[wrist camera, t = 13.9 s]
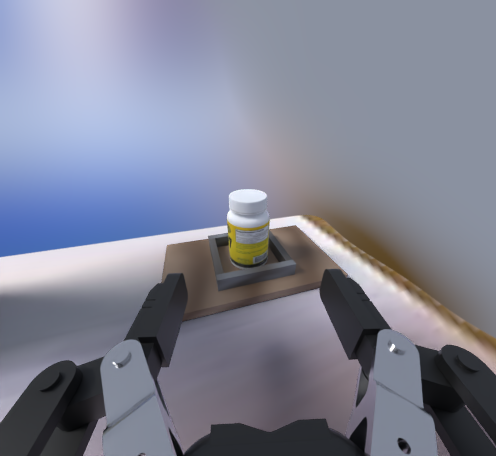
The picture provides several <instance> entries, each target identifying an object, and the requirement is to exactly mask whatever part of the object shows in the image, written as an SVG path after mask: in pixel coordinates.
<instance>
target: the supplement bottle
mask: <svg viewBox="0 0 496 456" xmlns="http://www.w3.org/2000/svg"><path fill="white" fill-rule="evenodd" d="M229 208H230V211H229V212H228V214H227V225H228V238H229V252H230V260H231V263H232V264H233V265H234V266H235V267H237V268H239V269H242V270H243V269H248V268H253V267H258V266H263V265H265V263H266V262H267V259H268V240H269V221H270V216H269V213H268V211H267V210H266V209H267V195H266V193H264V192H262V191H259V190H253V189H243V190H237V191H234V192H232V193H231V194H230V195H229Z"/></svg>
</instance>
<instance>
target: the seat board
mask: <svg viewBox="0 0 496 456" xmlns="http://www.w3.org/2000/svg"><path fill="white" fill-rule="evenodd" d="M208 238H209V239H204V240H197V241H191V242H184V243H178V244H171V245H167V249H166V255H165V262H164V269H163V276H162V282H161V283H164V281H165V278H166V276H167V275H168V274H169V273H183V275H184V278H185V283H186V287H187V291H188V301H187V305H186V309H185V312H184V316H183V319H182V322H183V321H187V320H191V319H195V318H199V317H203V316H207V315H211V314H215V313H219V312H223V311H227V310H231V309H235V308H239V307H243V306H247V305H251V304H255V303H259V302H263V301H267V300H271V299H275V298H279V297H283V296H287V295H292V294H296V293H300V292H304V291H308V290H312V289H316V288H320V285H321V281H322V277H323V273H324V270H325V269H340V270H341V271H342V272H343V274H344V275H345V276H346V278H347V275H348V274H347V273H346V272H345V271H344V270H342V269H341V268H340V267H339V266H338V265H337V264H336V263H335V262H334V261H333V260H332V259H331V258H330V257H329V256H328V255H327V254H325V253H324V252H323V251H322V250H321V249H320V248H319V247H318V246H317V245H316V244H315V243H314V242H313V241H312V240H311V239H310V238H308V237H307V236H306V235H305V234H304V233H303V232H302V231H301V230H300V229H299V228H298V227H297V226H296V225H295V226H289V227H282V228H276V229H269V240H268V259H267V262H266V263H265V265H263V266H258V267H253V268H248V269H243V270H242V269H239V268H237V267H235V266H234V265H233V264H232V263H231V260H230V252H229V238H228V233H225V234H218V235H212V236H208Z"/></svg>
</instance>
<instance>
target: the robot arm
mask: <svg viewBox="0 0 496 456" xmlns="http://www.w3.org/2000/svg"><path fill="white" fill-rule="evenodd" d="M320 297H321V300H322V302H323V304H324V306H325V308H326V311H327V313H328V315H329V317H330V319H331V322H332V324H333V326H334V328H335V330H336V333H337V335H338V337H339V339H340V341H341V343H342V346H343V348H344V350H345V352H346V354H347V357H348V359H349V360H351V359H358V361H359V363H360V365H361V366H360V368H359V373H358V379H357V385H356V391H355V397H354V403H353V408H352V412H351V416H350V418H349V421H348V425H347V429H346V434H345V436H344V435H342V434H341V433H339V432H337V431H335V430H333V429H331V428H328V425H327V421H326V419H309V420H297V421H295V422H293V423H291V424H288V425H286V426H284V427H282V428H280V429H277V430H275V431H273V432H266V431H263V430H259V429H256V428H253V427H250V426H247V425H244V424H241V423H235V424H217V425H211V433H210V434H208V435H206V436H204V437H202V438H201V439H199V440H198V441H197V442H195V443H194V444H193V445H192V446H191V447H190V448H189V449H188V450H187V451H186V452H185V453H184V451H183V448H182V445H181V442H180V439H179V436H178V434H177V431H176V429H175V426H174V424H173V421H172V419H171V416H170V413H169V410H168V407H167V404H166V401H165V398H164V395H163V393H162V390H161V387H160V384H159V381H158V378H157V377H158V374H159V371H160V368H161V367H169V364H170V360H171V357H172V354H173V350H174V347H175V343H176V340H177V336H178V333H179V329H180V326H181V323H182V319H183V316H184V312H185V309H186V305H187V301H188V291H187V287H186V283H185V278H184V275H183V273H169V274H168V275H167V276H166V278H165V281H164V283H158V284H157V285H156V286H155V287H154V288H153V289H152V290H151V291H150V292H149V294H148V296H147V298H146V301H145V302H144V304H143V305H142V309H140V311H139V313H138V315H137V317H136V319H135V321H134V322H133V324H132V326H131V328H130V330H129V332H128V334H127V336H126V338H125V339H124V341H123V342H121V343H119V344H117V345H115V346H114V347H113V348H112V349H111V350H110V351H109V352H108V353H107V354H106V355H105V356H104V357H102V358H99V359H96V360H94V361H91V362H88V363H85V364H82V365H79V366H76V365H75V363H74V362H72V361H69V360H66V361H61V362H58V363H55V364H53V365H51V366H50V367H48V368H46V369H45V370H44V371H42V372H41V373H40V374H39V375H38V376H37V377H36V378H35V379H34V380H33V381H32V382H31V383H30V384H29V386H28V387H27V388H26V390H25V391H24V392H23V394H22V395H21V396H20V398H19V399H18V400H17V402H16V403H15V404H14V406H13V407H12V408H11V410H10V411H9V412H8V414H7V415H6V416H5V418H4V419H3V420H2V422H1V423H0V456H83V454H84V452H85V450H86V447H87V445H88V443H89V440H90V438H91V436H92V433H93V431H94V429H95V426H96V424H97V422H98V419H99V418H102V417H104V416H106V419H107V427H106V429H105V430H104V431H103V436H102V445H103V455H104V456H438V452H437V443H436V434H435V430H436V431H437V433H438V435H439V436H440V438H441V440H442V442H443V443H444V445H445V447H446V448H447V450H448V452H449V453H450V455H451V456H496V448H495V447H494V445H493V444H492V443H491V441H490V440H489V439H488V437H487V436H486V435H485V433H484V432H483V430H482V429H481V428H480V426H479V425H478V424H477V422H476V421H475V420H474V418H473V417H472V416H471V414H470V413H469V412H468V410H467V409H466V408H465V405H467V407H468V408H469V409H470V411H471V412H472V413H473V415H474V416H475V417H476V419H477V420H478V421H479V423H480V424H481V425H482V427H483V428H484V429H485V431H486V432H487V433H488V435H489V436H490V437H491V439H492V440H493V441H494V443H495V444H496V375H495V374H494V373H493V372H492V371H491V370H490V369H489V368H488V367H487V365H486V364H485V363H484V362H482V361H481V360H480V359H479V358H478V357H476V356H475V355H474V354H472V353H471V352H469V351H467V350H465V349H463V348H461V347H458V346H454V345H446V346H444V347H442V349H441V350H440V351H436V350H432V349H429V348H425V347H421V346H417V345H414V344H413V343H412V342H411V341H410V340H409V339H408V338H407V337H405V336H404V335H403V334H401V333H399V332H397V331H394V330H392V329H391V328H390V327H389V325H388V324H387V323H386V321H385V320H384V318H383V317H382V316H381V314H380V313H379V312H378V310H377V309H376V307H375V306H374V305H373V303H372V302H371V301H370V299H369V298H368V296H367V295H366V294H365V292H364V291H363V290H362V288H361V287H360V285H359V284H357V283H356V282H355V281H354V280H352V279H351V278H346V276H345V275H344V274H343V272H342V271H341V270H340V269H325V270H324V273H323V277H322V281H321V285H320Z"/></svg>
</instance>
